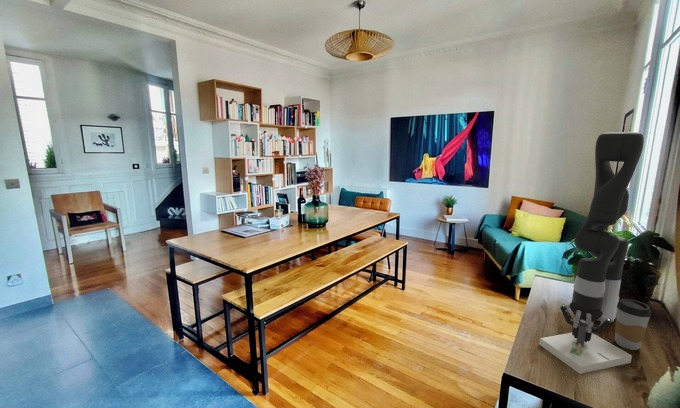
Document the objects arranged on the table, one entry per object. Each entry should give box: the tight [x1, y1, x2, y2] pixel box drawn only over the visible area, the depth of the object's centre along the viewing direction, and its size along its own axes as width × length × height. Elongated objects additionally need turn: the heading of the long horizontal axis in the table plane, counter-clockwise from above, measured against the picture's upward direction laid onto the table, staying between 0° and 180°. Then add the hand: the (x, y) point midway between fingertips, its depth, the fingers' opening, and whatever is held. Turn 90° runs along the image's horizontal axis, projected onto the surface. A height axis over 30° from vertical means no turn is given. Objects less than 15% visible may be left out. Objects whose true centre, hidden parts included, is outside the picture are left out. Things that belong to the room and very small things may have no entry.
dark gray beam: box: [576, 320, 587, 354], centre depth 98 cm, size 2×11×7 cm, turn 137°
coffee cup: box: [614, 298, 652, 351], centre depth 102 cm, size 8×8×15 cm
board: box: [539, 332, 633, 375], centre depth 99 cm, size 20×14×3 cm
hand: (580, 338), depth 101 cm, fingers closed on dark gray beam, 2 cm apart
